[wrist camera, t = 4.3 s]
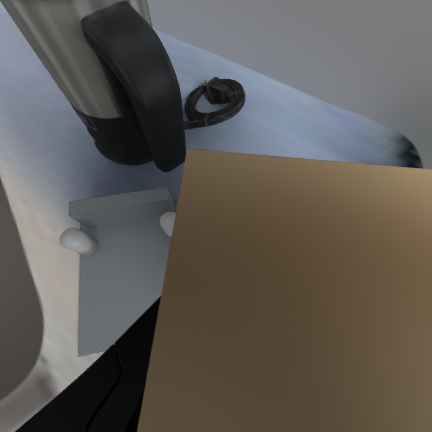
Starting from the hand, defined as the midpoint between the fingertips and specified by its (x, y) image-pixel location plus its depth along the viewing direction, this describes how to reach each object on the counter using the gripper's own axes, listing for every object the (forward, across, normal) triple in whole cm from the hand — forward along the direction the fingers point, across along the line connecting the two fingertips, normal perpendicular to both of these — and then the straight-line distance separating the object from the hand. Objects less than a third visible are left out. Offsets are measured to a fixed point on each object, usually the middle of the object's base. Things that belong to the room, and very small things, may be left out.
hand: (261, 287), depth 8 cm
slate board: (+11, +8, +8) cm, 16 cm away
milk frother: (+23, +8, -4) cm, 25 cm away
